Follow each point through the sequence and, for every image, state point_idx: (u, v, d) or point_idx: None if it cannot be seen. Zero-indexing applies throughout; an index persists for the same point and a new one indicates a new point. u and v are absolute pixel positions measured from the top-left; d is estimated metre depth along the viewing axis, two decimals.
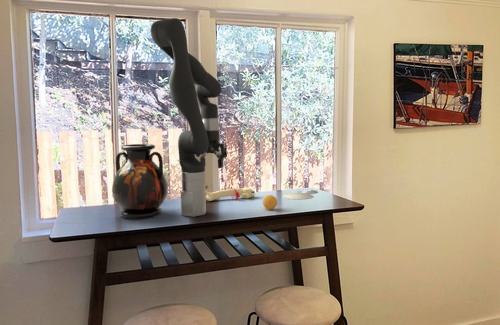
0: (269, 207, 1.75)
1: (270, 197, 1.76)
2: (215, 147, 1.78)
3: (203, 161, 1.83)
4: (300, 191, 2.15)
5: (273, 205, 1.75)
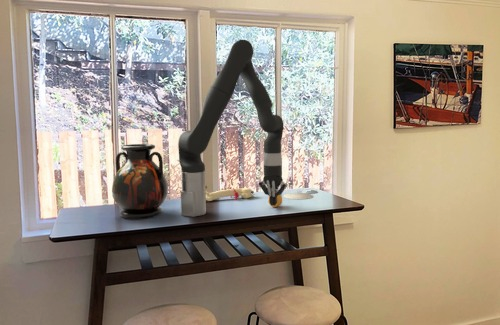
0: None
1: None
2: (276, 185, 1.75)
3: None
4: (300, 191, 2.15)
5: (279, 197, 1.80)
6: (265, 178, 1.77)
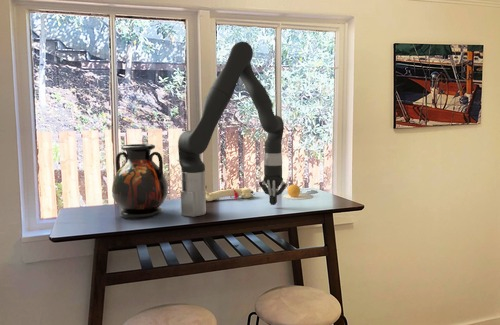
0: None
1: None
2: (277, 184, 1.77)
3: None
4: (300, 191, 2.15)
5: None
6: (265, 178, 1.80)
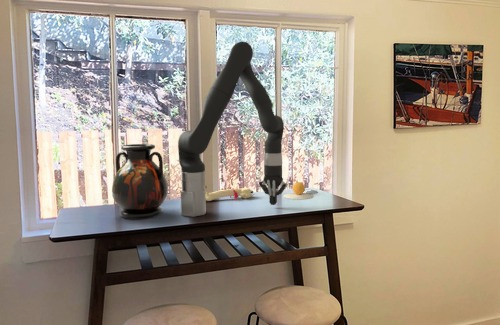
0: None
1: (298, 191, 2.06)
2: (277, 184, 1.77)
3: None
4: None
5: None
6: (265, 178, 1.80)
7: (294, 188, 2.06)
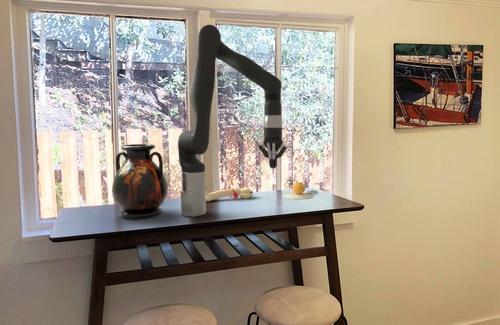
0: None
1: (298, 191, 2.06)
2: (277, 147, 1.75)
3: None
4: None
5: None
6: (265, 141, 1.78)
7: (294, 188, 2.06)
